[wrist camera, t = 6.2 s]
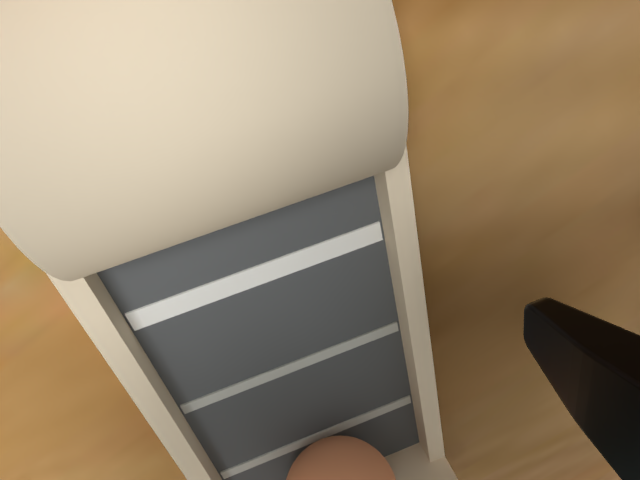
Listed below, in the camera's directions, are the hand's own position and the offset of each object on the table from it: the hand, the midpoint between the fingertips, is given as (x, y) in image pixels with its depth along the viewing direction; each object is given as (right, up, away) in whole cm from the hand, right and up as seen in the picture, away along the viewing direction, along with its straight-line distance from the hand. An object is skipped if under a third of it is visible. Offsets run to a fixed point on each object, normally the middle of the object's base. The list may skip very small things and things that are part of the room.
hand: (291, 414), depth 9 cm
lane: (-2, +2, +14) cm, 14 cm away
